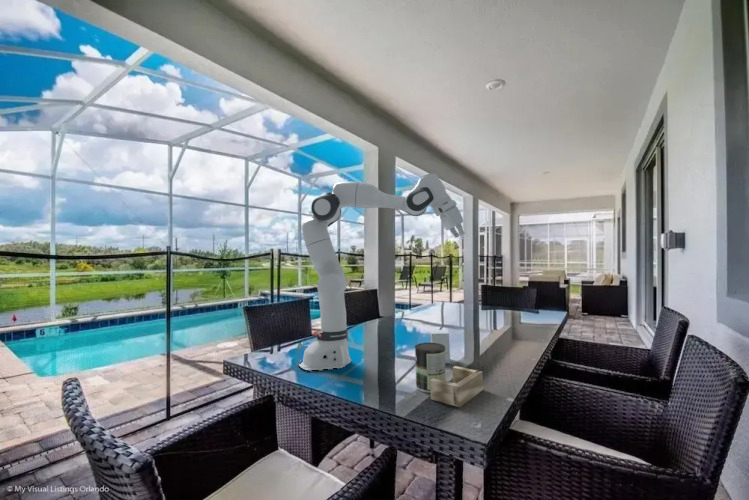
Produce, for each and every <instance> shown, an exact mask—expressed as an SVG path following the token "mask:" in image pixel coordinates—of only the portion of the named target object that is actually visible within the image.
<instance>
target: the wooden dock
mask: <svg viewBox="0 0 749 500" xmlns="http://www.w3.org/2000/svg"><path fill="white" fill-rule="evenodd" d="M483 378H484V376H483V371H482V370H477V369H471V368H467V367H461V366H457V365H454V366H453V367H452V382H451V381H446V380H445V381H443V380H439V379H435V378H433V379H431V380H430V391H431V393H430V400H433V401H436V402H440V403H442V404H443V403H444V404H446V405H450V406H454V407H456V408H461V407H463V406H464V405H465V404H467V403H468V402H469V401H470V400H471V399H473V398H474V397H475V396H477V395H479V393H481V392H482V391H483V390H484V381H483V380H484V379H483Z"/></svg>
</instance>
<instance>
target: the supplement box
mask: <svg viewBox="0 0 749 500" xmlns="http://www.w3.org/2000/svg"><path fill="white" fill-rule="evenodd" d="M430 343H439V344H442V345H444V346H445V364H451V352H450V351H451V349H450V333H449V331H448V330H447V329H431V330H430Z"/></svg>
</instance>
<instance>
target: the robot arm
mask: <svg viewBox="0 0 749 500" xmlns="http://www.w3.org/2000/svg"><path fill="white" fill-rule="evenodd" d="M457 205H458V204H457V202H456V200H454V199H452V198H451V196H450V194H448V193H447V191H446V187H445V185H444V184H443V182H442V180H441V178H440V177H439V176H438V175H437V174H435V173H427V174H423V176H421V177H420V178H419V179H418V181H417V183H416V184H415V186H414V188H413V189H412V190H411V191H410V192H409V193H408V194H407V195H406V196H402V195H401V196H400V195H394V194H389V193H385V192H383V191H382V190H380V189H379V188H378V187H376V186H375V185H374V184H370V183H367V182H364V181H362V182H361V181H354V180H353V181H349V180H347V181H338V182H336V183H334V185H333V187H332V190H331V191H330V192H327V193H325V194H322V195H319V196H317V197H315V199H314V200H313V201H312V203H311V207H310V208H311V214H312V215H313V216H312V217H311V218H308V219H307V220H305V221H304V222H303V223H302V225H301V229H302V236H303V241H304V243H305V244H304V245H305V247H306V251H307V254H308V256H309V260H310V262H311V264H312V266H313V268H314V270H315V272H316V274H317V276H318V278H319V279H318V281H317V285H316V289H317V295H318V296H317V297H318V304H319V309H320V329H319V330H313V332H312V334H313V336H316V339H315V340H314V341H312V343H311V344H310V345H309V346H307V347H306V348H305V349H304V352H303V359H302V360H303V362H302V363H301V364H299V366H300V367H301V368H303V369H305V370H319V371H324V370H323V369H328V370H334V369H333V368H337V369H344V368H345V367H346V366H347V365H349V364H351V362H352V359H351V357H350V353H349V347H348V345H349V344H348V339H349V331H348V328H347V309H346V299H345V292H346V289H347V286H348V281H347V278H346V275H345V274H344V273H345V272H344V270H343V269H342V266H341V263H340V261H339V259H338V256H337V254H336V250H335V248H334V246H333V242H332V239H331V236H330V235H329V230H328V228H330V227H331V226H332V225H333V224H334V223H336V222H337V221H338V220H339V219H340V218H341V214H342V209H343V208H345V207H351V208H359V209H360V208H361V209H372V208H373V209H374V208H376V209H377V208H379V209H381V208H384V209H392V210H398V211H403V212H404V213H406V214H408V215H410V216H413V217H419V216H422V215H423V214H424V213H425V212H426V211H427V209H428V207H430V206H431V208H432V210H433V212H434V214H435V216H436V217H439V219H440V221H441V224H442V225H443V227H444V229H445V230H446V231H450V233H451V234H452V235H453V236H454V238H455V239H456V238H458V237H460V236H461V237H462V236H464V235H465V234H466V233H465V231H464V227H463V225H462V223H464V218H463V216H462V213H461V212H460V210H459V208H458V206H457ZM343 367H344V368H343Z"/></svg>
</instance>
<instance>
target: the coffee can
mask: <svg viewBox="0 0 749 500" xmlns="http://www.w3.org/2000/svg"><path fill="white" fill-rule="evenodd" d="M414 351H415V352H414V353H415V355H414V356H415V358H414V359H415V388H416V389H417V390H418V391H419V392H422V393H427V394H428V393H429V394H431V391H430V380H431V379H433V378H435V379H439V380H443V381H446V363H445V346H444V345H442V344H439V343H431V342H420V343H417V344H415V345H414Z"/></svg>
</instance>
